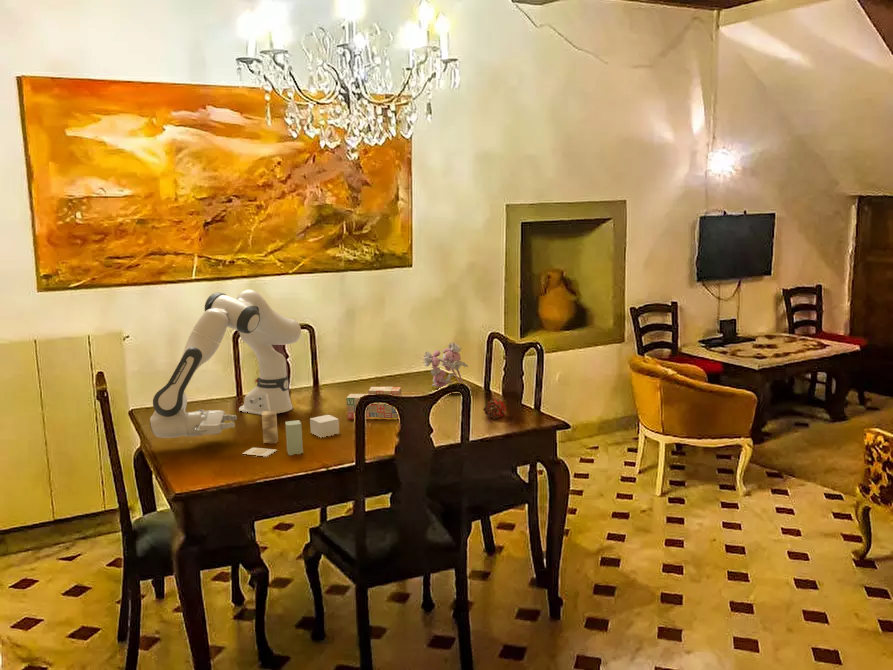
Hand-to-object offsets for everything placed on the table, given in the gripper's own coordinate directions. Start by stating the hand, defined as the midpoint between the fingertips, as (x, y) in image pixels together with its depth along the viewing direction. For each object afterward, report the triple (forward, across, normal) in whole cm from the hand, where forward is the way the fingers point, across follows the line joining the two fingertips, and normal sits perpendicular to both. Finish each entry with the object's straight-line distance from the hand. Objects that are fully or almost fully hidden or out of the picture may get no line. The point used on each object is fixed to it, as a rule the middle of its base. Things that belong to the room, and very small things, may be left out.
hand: (235, 421), depth 316 cm
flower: (+86, +56, +8) cm, 103 cm away
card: (+9, -13, +9) cm, 18 cm away
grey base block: (+32, +5, +9) cm, 34 cm away
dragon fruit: (+99, +10, +8) cm, 100 cm away
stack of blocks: (+52, +22, +9) cm, 57 cm away
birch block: (+12, 0, +9) cm, 15 cm away
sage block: (+21, -15, +9) cm, 27 cm away
